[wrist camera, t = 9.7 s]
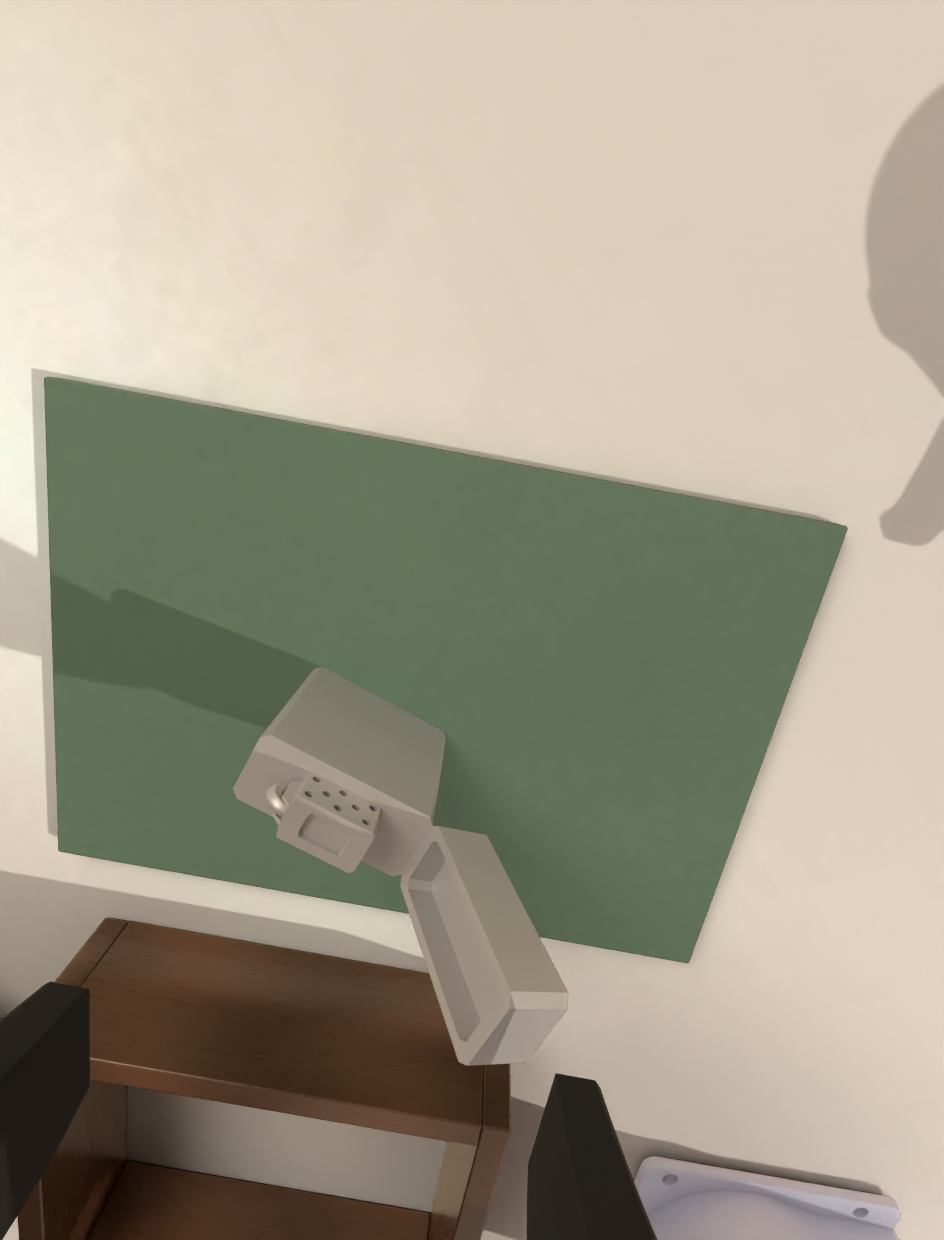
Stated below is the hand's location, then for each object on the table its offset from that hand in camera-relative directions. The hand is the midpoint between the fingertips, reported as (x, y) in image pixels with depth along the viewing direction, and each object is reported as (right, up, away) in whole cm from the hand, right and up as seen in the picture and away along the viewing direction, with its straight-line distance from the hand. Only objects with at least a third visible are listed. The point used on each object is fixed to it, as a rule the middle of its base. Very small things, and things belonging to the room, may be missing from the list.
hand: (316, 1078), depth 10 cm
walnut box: (-4, -10, +13) cm, 17 cm away
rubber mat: (+1, +5, +8) cm, 10 cm away
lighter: (+1, +3, +8) cm, 9 cm away
